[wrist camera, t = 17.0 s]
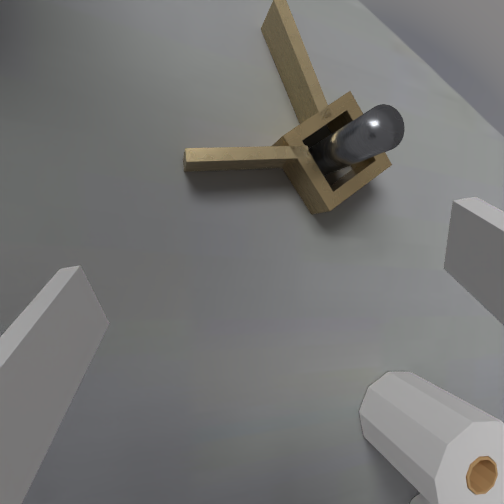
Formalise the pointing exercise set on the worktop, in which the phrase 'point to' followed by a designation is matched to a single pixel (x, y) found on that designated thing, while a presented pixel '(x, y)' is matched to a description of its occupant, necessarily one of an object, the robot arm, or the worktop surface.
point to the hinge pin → (359, 139)
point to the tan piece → (311, 120)
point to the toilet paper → (435, 440)
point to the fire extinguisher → (419, 500)
